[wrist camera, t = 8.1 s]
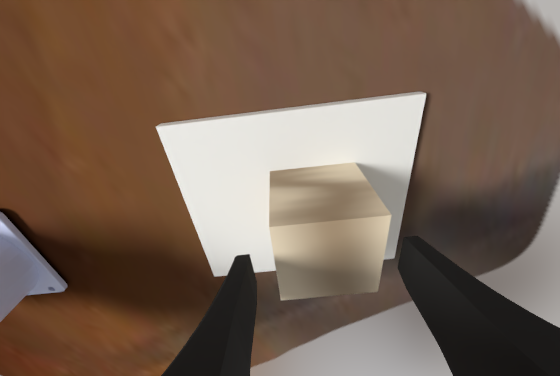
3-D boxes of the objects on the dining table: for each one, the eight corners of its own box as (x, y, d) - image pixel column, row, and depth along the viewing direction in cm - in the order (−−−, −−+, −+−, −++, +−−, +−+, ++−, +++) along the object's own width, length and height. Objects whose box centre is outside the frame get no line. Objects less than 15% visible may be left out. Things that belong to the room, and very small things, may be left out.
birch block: (278, 234, 17) (280, 300, 12) (269, 171, 14) (269, 227, 10) (350, 227, 17) (377, 291, 12) (354, 162, 14) (391, 215, 10)
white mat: (216, 270, 19) (214, 276, 19) (160, 123, 13) (156, 126, 13) (391, 252, 19) (394, 258, 18) (420, 91, 13) (426, 93, 12)
